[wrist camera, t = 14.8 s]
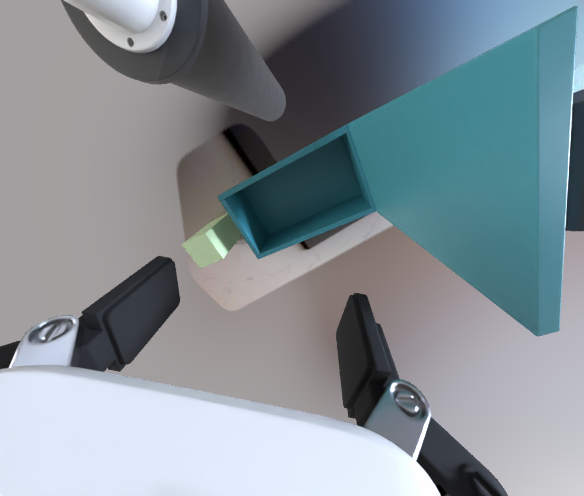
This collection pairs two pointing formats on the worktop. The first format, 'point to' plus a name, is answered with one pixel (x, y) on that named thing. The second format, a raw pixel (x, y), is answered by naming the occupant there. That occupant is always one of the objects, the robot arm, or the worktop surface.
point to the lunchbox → (301, 195)
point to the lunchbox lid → (489, 168)
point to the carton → (213, 241)
